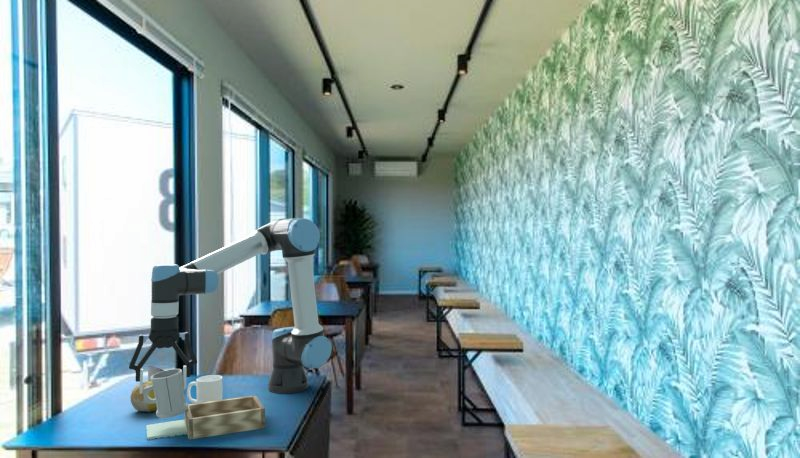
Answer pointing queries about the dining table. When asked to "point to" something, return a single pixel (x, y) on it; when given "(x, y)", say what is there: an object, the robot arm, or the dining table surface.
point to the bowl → (153, 371)
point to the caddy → (224, 417)
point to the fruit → (139, 399)
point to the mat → (166, 429)
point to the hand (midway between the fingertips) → (163, 390)
